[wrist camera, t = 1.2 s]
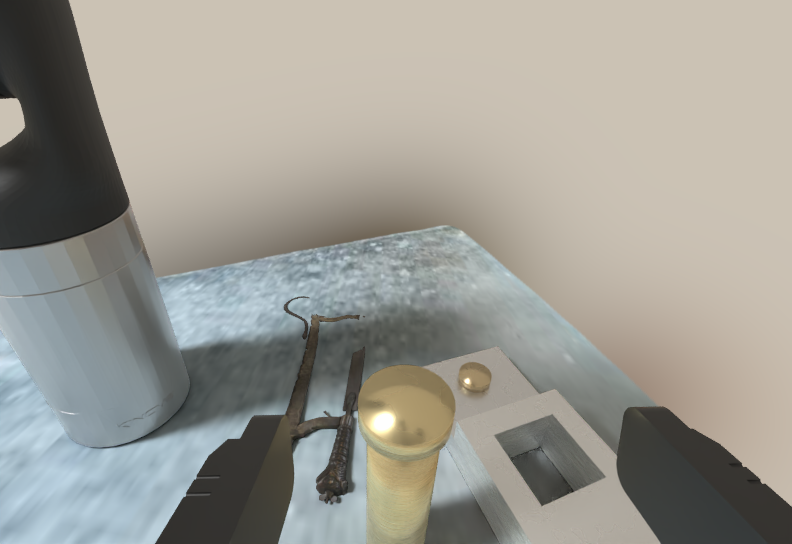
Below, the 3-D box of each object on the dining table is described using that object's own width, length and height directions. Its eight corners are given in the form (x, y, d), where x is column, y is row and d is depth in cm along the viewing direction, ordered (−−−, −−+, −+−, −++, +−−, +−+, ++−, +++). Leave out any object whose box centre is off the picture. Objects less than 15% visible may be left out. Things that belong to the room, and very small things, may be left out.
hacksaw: (345, 510, 28) (345, 498, 27) (198, 501, 28) (193, 489, 27) (373, 302, 48) (374, 292, 47) (289, 298, 48) (287, 288, 47)
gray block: (412, 384, 37) (415, 345, 34) (494, 361, 40) (503, 324, 37) (621, 765, 18) (663, 743, 16) (746, 667, 21) (798, 636, 19)
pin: (345, 552, 25) (337, 405, 18) (389, 498, 28) (398, 351, 21) (400, 607, 23) (418, 465, 15) (442, 541, 26) (473, 395, 18)
